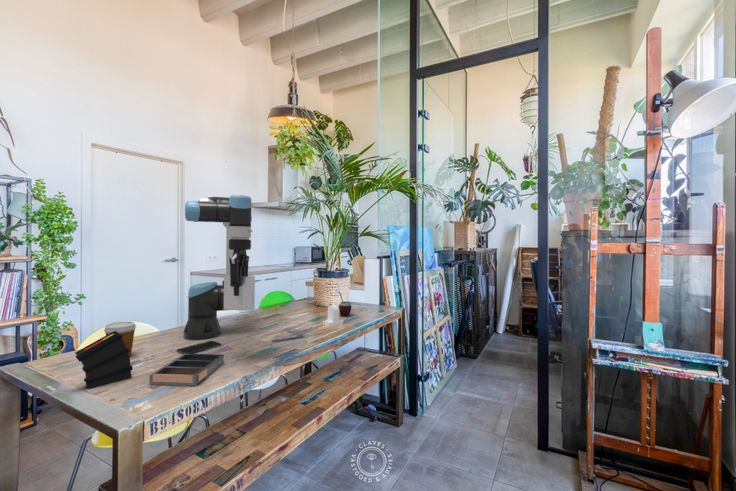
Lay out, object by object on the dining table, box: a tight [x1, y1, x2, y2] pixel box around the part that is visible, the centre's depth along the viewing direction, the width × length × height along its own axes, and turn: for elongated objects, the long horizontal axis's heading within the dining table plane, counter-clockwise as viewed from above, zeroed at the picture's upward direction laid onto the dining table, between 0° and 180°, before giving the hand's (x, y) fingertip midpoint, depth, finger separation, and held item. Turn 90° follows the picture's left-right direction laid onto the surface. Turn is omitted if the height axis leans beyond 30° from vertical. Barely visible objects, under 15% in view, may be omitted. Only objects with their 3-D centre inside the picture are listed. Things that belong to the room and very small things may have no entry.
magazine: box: [74, 331, 134, 389], centre depth 104 cm, size 4×13×15 cm, turn 140°
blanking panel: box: [223, 275, 256, 311], centre depth 124 cm, size 10×3×12 cm, turn 90°
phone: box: [176, 340, 222, 355], centre depth 136 cm, size 8×1×15 cm
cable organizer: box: [322, 304, 344, 328], centre depth 178 cm, size 5×10×10 cm, turn 130°
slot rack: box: [149, 353, 225, 387], centre depth 112 cm, size 14×19×3 cm
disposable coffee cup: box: [103, 321, 137, 357], centre depth 124 cm, size 10×10×12 cm
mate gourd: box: [336, 289, 352, 318], centre depth 197 cm, size 8×8×15 cm
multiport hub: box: [269, 335, 307, 349], centre depth 145 cm, size 4×14×2 cm, turn 126°
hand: (239, 303), depth 124 cm, fingers closed on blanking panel, 3 cm apart
